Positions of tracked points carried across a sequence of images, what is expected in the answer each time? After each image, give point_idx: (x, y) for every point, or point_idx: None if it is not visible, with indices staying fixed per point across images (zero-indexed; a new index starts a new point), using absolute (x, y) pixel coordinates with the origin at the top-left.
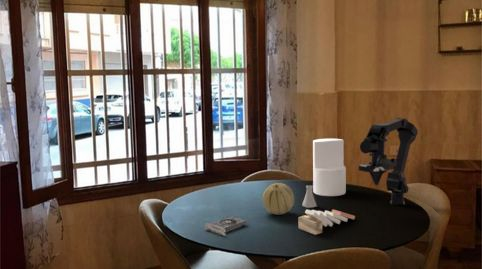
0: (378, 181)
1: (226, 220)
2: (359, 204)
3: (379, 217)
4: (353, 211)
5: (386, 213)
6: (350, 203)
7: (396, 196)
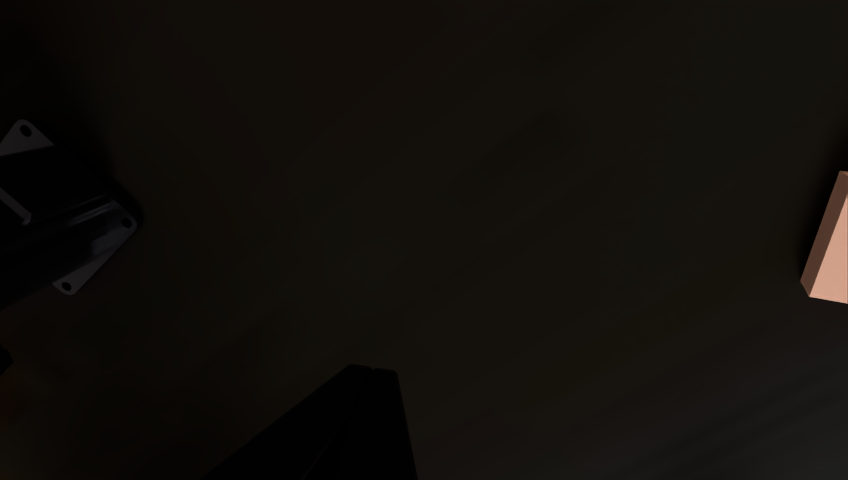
0: (326, 425)
1: None
2: None
3: (585, 26)
4: (584, 331)
5: (399, 72)
6: None
7: (23, 204)
